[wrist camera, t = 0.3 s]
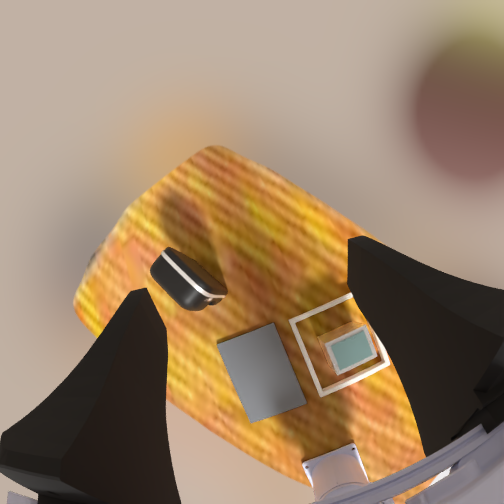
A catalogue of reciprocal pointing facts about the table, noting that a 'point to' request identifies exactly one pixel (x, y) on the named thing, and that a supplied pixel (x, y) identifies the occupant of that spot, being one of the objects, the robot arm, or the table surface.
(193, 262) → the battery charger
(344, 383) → the white square frame
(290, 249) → the table surface
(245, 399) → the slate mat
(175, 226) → the table surface
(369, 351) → the block
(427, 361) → the robot arm
